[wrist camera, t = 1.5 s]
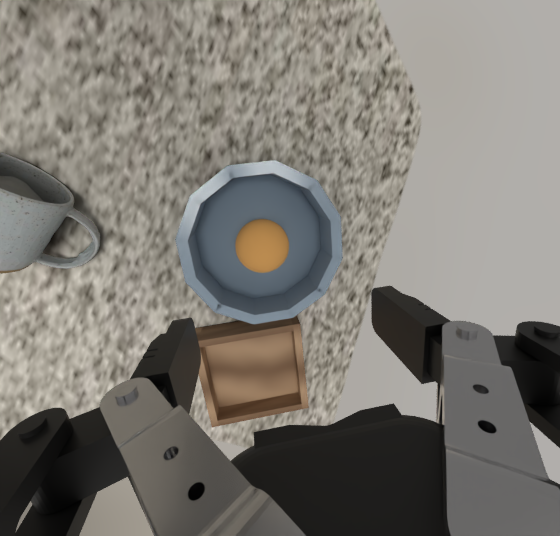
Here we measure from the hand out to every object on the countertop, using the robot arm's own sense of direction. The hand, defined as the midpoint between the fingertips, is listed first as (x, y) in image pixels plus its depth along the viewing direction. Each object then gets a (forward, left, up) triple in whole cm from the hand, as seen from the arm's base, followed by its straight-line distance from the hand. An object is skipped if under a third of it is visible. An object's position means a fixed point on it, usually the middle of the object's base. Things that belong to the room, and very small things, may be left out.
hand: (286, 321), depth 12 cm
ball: (0, 0, -15) cm, 15 cm away
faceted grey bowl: (0, 0, -19) cm, 19 cm away
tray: (+15, -3, -19) cm, 24 cm away
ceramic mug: (-5, -20, -19) cm, 28 cm away
